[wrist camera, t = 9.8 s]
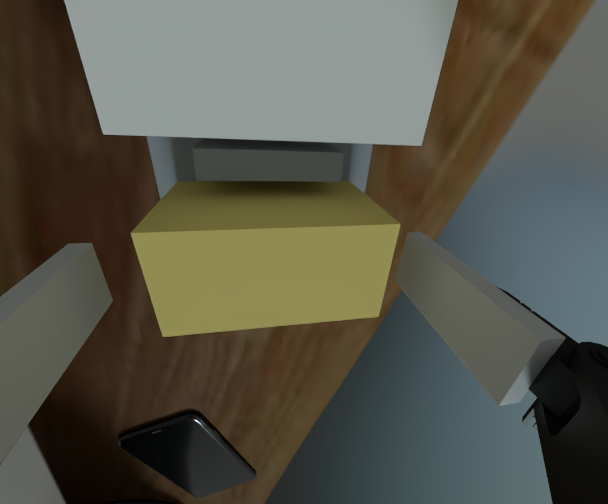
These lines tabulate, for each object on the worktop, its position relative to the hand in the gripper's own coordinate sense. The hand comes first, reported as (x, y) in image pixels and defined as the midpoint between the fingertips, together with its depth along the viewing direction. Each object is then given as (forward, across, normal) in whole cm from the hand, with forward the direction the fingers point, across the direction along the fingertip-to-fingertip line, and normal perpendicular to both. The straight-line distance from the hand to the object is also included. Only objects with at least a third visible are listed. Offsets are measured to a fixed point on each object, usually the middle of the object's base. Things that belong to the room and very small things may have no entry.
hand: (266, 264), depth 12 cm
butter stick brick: (+4, 0, 0) cm, 4 cm away
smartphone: (+6, -7, -27) cm, 29 cm away
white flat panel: (+4, 0, +8) cm, 9 cm away
